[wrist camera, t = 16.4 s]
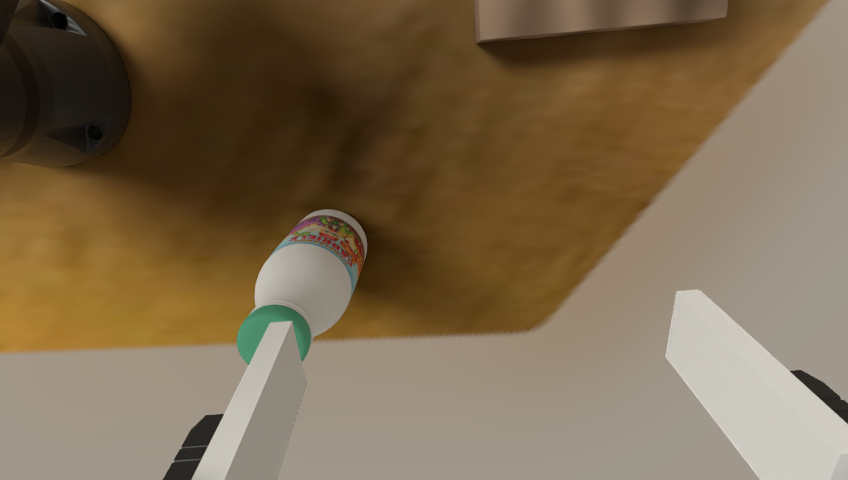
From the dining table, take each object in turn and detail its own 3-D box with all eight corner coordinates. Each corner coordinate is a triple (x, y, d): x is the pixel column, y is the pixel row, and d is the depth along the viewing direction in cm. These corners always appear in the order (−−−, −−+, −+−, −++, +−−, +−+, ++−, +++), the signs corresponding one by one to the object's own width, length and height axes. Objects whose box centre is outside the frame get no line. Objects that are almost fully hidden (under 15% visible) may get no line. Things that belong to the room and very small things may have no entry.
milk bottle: (363, 281, 50) (324, 404, 31) (292, 270, 50) (209, 388, 31) (372, 213, 48) (336, 302, 29) (297, 201, 47) (210, 283, 28)
